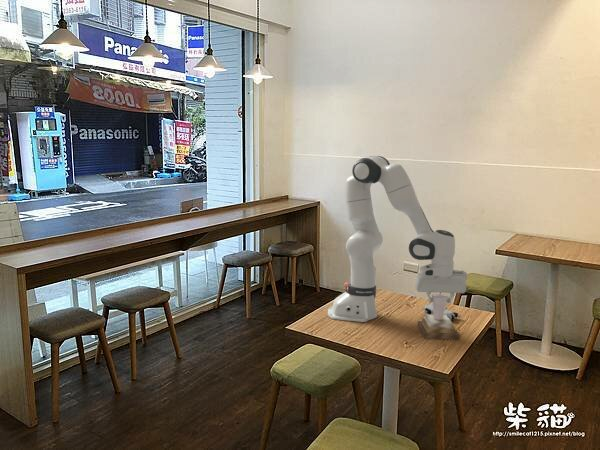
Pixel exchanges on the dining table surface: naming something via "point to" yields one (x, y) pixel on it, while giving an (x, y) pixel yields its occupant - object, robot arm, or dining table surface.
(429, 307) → the robot toy
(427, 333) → the square stepped pedestal
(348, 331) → the dining table surface
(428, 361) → the dining table surface
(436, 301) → the smoothie
